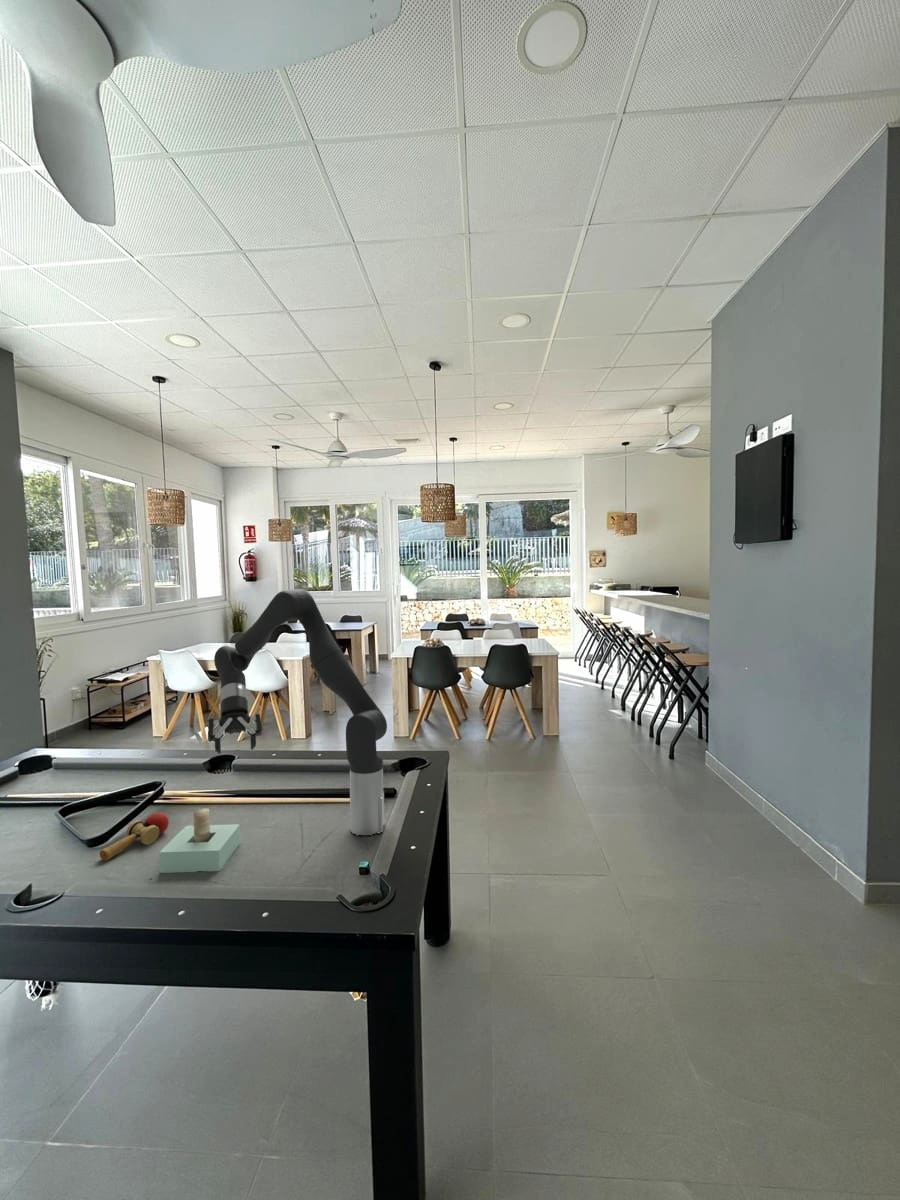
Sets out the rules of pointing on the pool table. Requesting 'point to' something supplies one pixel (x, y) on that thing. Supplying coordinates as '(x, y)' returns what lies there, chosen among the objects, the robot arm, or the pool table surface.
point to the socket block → (199, 850)
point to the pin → (201, 825)
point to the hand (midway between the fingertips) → (236, 750)
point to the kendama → (139, 834)
